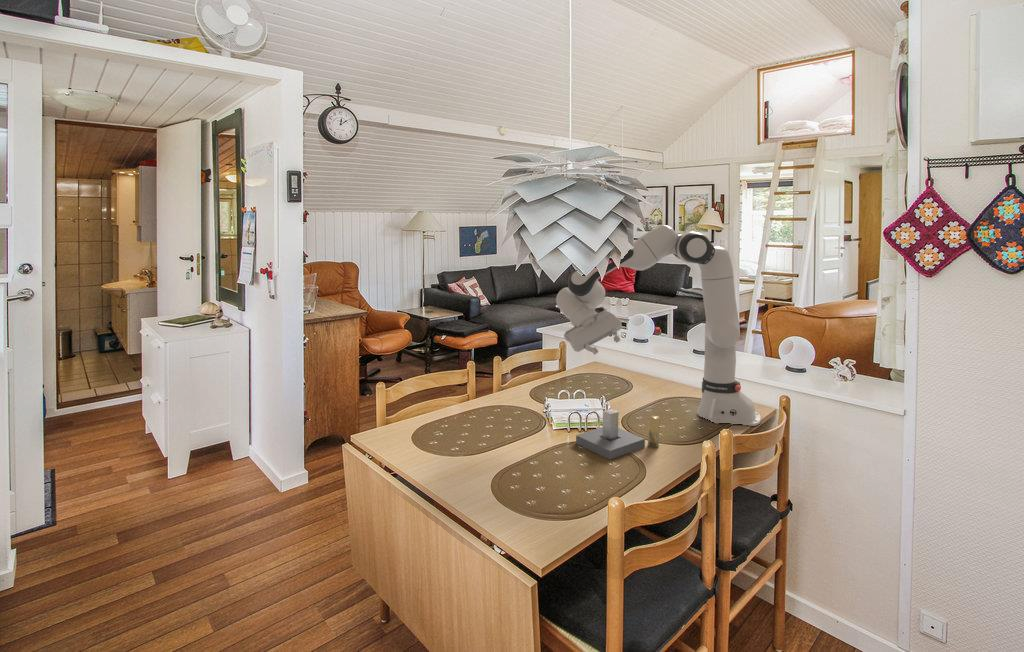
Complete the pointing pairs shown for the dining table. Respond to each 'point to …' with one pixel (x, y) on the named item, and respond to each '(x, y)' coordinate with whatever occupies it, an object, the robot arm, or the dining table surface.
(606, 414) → the square bit
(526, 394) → the dining table surface
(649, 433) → the round bit
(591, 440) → the bore block
